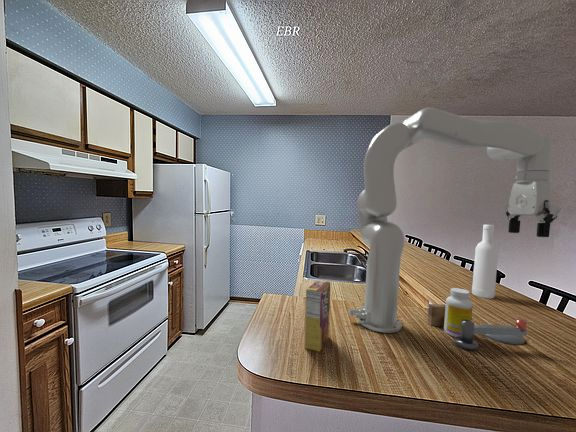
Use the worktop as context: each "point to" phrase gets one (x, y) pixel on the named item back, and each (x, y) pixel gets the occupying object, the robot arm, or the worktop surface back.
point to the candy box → (317, 315)
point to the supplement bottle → (457, 311)
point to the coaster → (507, 338)
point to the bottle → (485, 265)
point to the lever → (486, 332)
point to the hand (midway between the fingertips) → (527, 234)
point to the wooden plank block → (436, 314)
